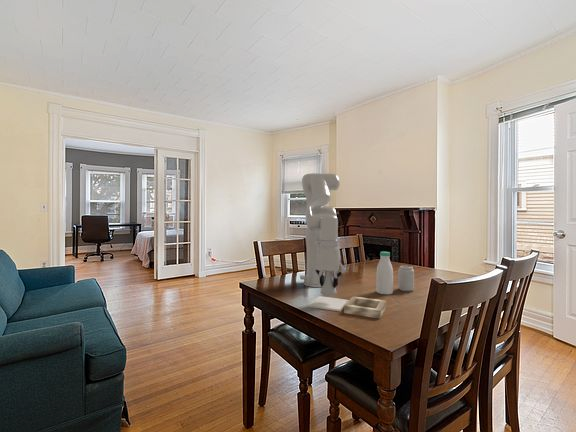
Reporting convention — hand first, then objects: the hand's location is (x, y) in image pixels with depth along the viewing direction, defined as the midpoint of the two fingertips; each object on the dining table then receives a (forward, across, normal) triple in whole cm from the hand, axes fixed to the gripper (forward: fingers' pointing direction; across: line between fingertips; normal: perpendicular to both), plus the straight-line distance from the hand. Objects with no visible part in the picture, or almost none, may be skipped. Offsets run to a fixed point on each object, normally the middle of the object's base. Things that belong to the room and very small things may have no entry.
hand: (328, 285), depth 133 cm
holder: (+8, +16, -1) cm, 18 cm away
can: (+8, +28, +39) cm, 49 cm away
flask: (+4, 0, 0) cm, 4 cm away
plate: (+8, 0, 0) cm, 8 cm away
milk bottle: (+8, +19, +29) cm, 36 cm away
